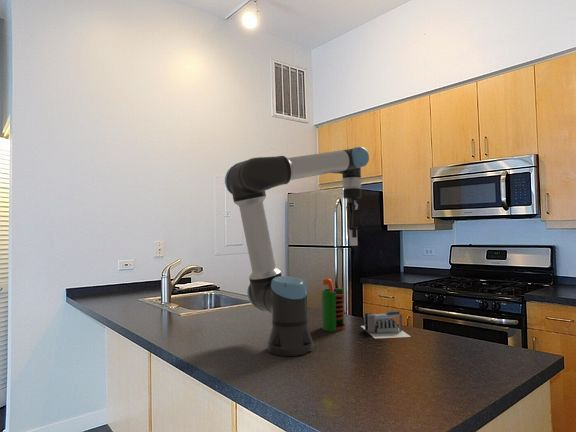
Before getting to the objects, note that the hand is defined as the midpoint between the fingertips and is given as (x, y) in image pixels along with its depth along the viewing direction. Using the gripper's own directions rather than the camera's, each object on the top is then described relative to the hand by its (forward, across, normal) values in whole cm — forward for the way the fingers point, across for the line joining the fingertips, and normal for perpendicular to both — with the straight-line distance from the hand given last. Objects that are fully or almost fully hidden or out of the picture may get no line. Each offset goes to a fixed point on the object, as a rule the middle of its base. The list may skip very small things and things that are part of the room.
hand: (353, 245), depth 169 cm
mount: (+31, -16, -6) cm, 36 cm away
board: (+32, -16, -6) cm, 37 cm away
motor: (+33, -8, +11) cm, 35 cm away
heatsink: (+31, -16, -6) cm, 36 cm away
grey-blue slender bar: (+26, -16, -6) cm, 32 cm away
